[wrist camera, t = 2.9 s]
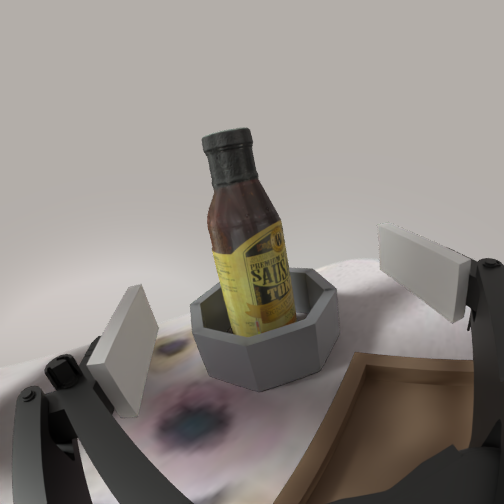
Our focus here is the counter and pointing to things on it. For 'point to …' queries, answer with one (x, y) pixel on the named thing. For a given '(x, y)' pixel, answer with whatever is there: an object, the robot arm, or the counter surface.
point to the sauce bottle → (246, 238)
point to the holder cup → (269, 336)
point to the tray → (384, 426)
